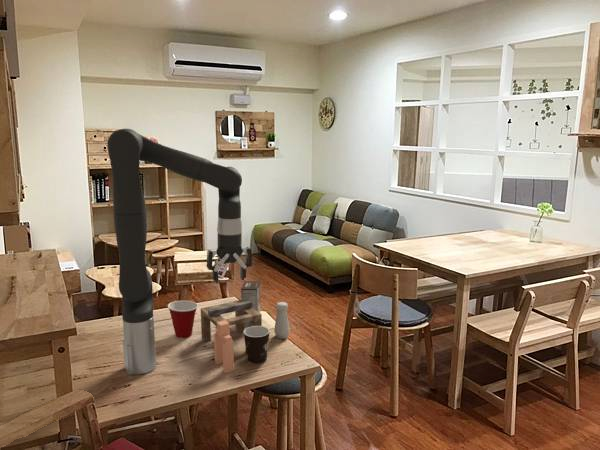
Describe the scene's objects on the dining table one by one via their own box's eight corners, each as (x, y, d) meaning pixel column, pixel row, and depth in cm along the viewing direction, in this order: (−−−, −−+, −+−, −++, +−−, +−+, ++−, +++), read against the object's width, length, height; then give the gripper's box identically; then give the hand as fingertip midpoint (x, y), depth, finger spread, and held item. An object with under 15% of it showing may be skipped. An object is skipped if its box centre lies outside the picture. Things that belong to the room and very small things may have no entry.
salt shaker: (281, 331, 186) (281, 299, 184) (293, 336, 183) (293, 302, 180) (270, 336, 182) (270, 303, 179) (282, 341, 178) (282, 307, 176)
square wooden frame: (219, 357, 166) (218, 318, 163) (201, 339, 179) (200, 303, 176) (261, 346, 175) (261, 308, 172) (241, 329, 188) (241, 294, 185)
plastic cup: (204, 336, 182) (202, 306, 179) (175, 344, 176) (173, 312, 173) (192, 326, 190) (191, 296, 188) (165, 333, 184) (163, 302, 182)
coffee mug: (258, 350, 171) (258, 323, 169) (275, 359, 165) (275, 331, 163) (231, 362, 163) (230, 333, 161) (247, 371, 157) (247, 342, 155)
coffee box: (244, 318, 198) (244, 280, 194) (260, 318, 198) (260, 280, 194) (241, 328, 189) (240, 288, 185) (258, 328, 189) (258, 288, 185)
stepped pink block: (225, 372, 157) (223, 328, 153) (215, 362, 163) (213, 319, 160) (233, 370, 158) (232, 326, 155) (223, 359, 165) (222, 317, 162)
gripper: (209, 235, 150) (210, 286, 153) (254, 232, 155) (254, 282, 158) (204, 230, 156) (204, 279, 160) (248, 227, 162) (247, 275, 165)
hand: (229, 280), depth 159 cm, fingers open, 8 cm apart
